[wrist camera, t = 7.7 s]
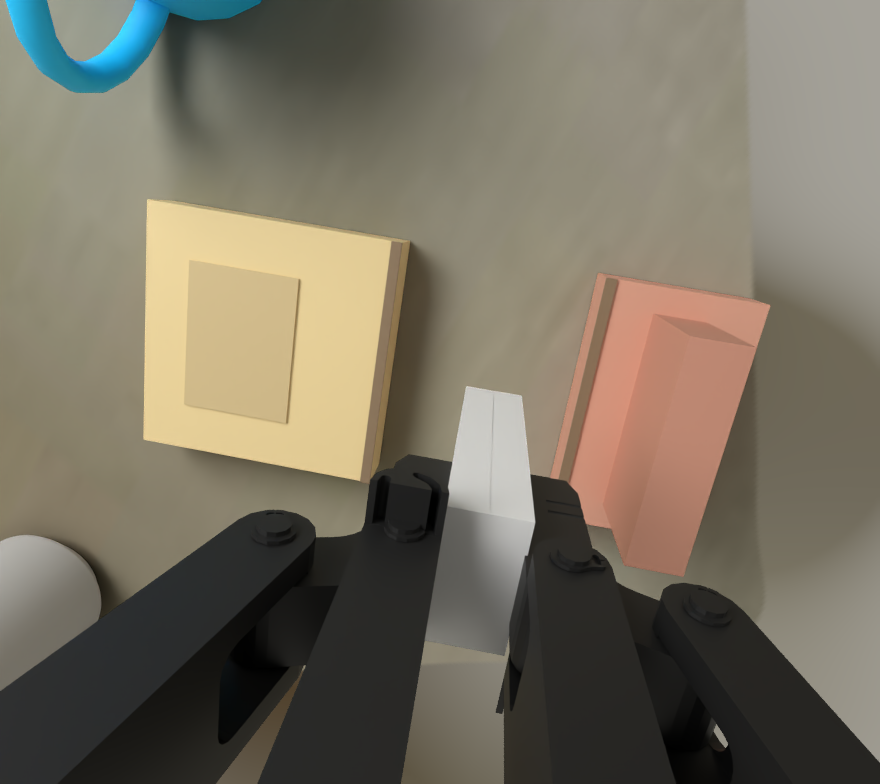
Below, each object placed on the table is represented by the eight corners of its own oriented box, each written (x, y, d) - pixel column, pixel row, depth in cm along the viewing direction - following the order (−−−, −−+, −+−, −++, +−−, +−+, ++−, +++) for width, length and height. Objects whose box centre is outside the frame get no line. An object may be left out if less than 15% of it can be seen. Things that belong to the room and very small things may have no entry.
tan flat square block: (174, 200, 25) (145, 199, 23) (410, 240, 24) (402, 243, 22) (168, 424, 28) (141, 440, 26) (378, 463, 27) (369, 483, 25)
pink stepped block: (597, 272, 24) (631, 291, 18) (748, 298, 24) (836, 326, 17) (545, 495, 27) (559, 579, 21) (680, 521, 27) (733, 613, 20)
